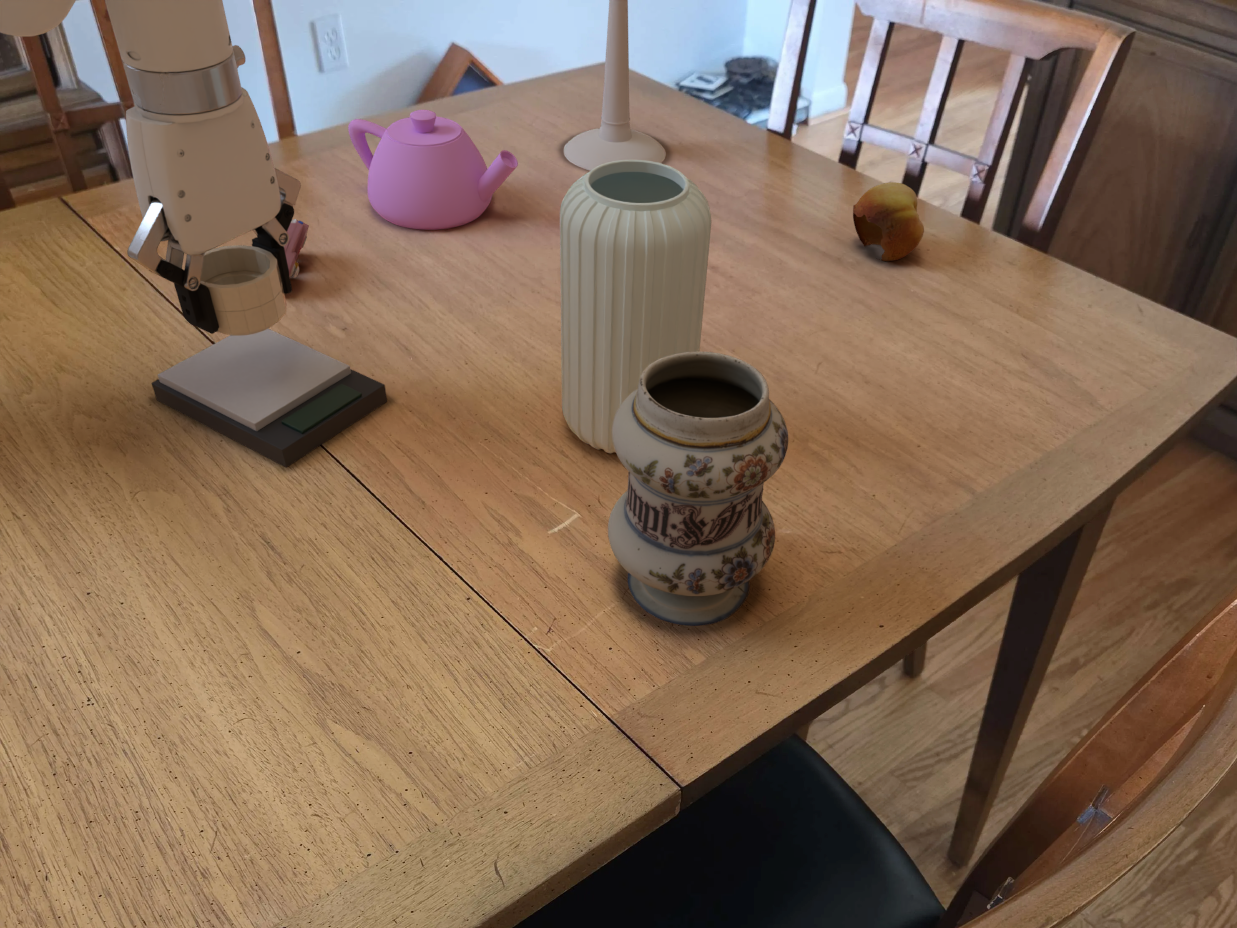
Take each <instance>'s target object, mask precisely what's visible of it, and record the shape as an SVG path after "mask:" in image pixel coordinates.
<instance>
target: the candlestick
mask: <svg viewBox="0 0 1237 928" xmlns="http://www.w3.org/2000/svg"><path fill="white" fill-rule="evenodd" d="M607 13H608V15H607V29H606V44H605V45H606V46H605V61H604V76H603V92H602V105H601V116H600V120H601V121H600V127H597V128H593V129H589V130H585V131H582V132H581V133H578V134H577V135H575V136H574V137H572V138H571V139H570V140H568V141H567V142H566V143H565V145H564V147H563V155H564V157H565V158H566V160H568V161H569V162H570V164H573V165H575V166H577V167H579V168H581V169H584V170H586V171H589V172H590V171H591V170H592V169H594V168H595V167H597V166H599V165H602V164H605V163H608V162H612V161H619V160H646V161H653V162H658V163H662V164H663V162H664V161H665V159H666V157H667V153H666V149H665V148H664V147H663V146H662V144H661V143H660V142H659V141H658V140H656V139H655V138H653V137H652V136H650V135H648V134H646V133H644V132H641V131H639V130H635V129H632V128H631V122H630V121H631V117H630V112H631V111H630V63H629V62H630V55H629V54H630V53H629V0H608V12H607Z"/></svg>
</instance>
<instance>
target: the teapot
mask: <svg viewBox="0 0 1237 928" xmlns="http://www.w3.org/2000/svg"><path fill="white" fill-rule="evenodd" d="M347 130H348V134H349V138H350V141H351V144H352V145H353V148H354V149H355V151H356V153H357V154H358V156H359V158H360V159H361V161H362V162H363V164H364V166H365V168H367V170H368V176H367V198H368V201H369V203H370V205H371V207H372V208H373V210H374V211H375V212H376V213H377V214H378V216H380V217H381V218H383V219H384V220H385V221H387V222H389V223H391V224H393V225H396V226H398V227H402V228H407V229H413V230H421V231H423V230H424V231H437V230H447V229H453V228H458V227H460V226H464V225H467V224H469V223H471V222H473V221H476V220H477V219H478V218H479V217H481V216H482V215H483V214H484V212H485V211H486V210H487V208H488V207H489V205H490V203H491V202H492V198H493V195H494V193H495V192H496V191H497V190H498V189H499V188H500V187H501V186H502V184H503V183H504V182H505V181H506V180H507V179H508V178H509V176H511V174H512V173H513V172H514V171H515V170H516V169H517V168H518V166H519V161H518V159H517V157H516V156H515V155H514V154H513V153H512V151H511V152H510V151H509V150H506V149H503V150H501V151H500V152H499V153H498V155H497V156H496V157H495V159H493V161H492V163H491V164H490V165H489V166H487V164H486V162H485V159H484V157H483V156H482V154H481V152H480V150H479V149H478V147H477V146H476V144H475V143H474V141H473V139H471V136H469V134H468V133H467V132H466V130H465V129H464V128H463V127H462V125H460V124H459V123H458V122H456V121H455V120H454V119H453V120H452V119H450V118H447V117H443V116H437V113H436V112H435V111H433V110H429V109H416V110H414V111H412V112H410V113H409V116H408V117H404V118H401V119H397V120H396V121H394V122H392V123H390V125H389V126H388V127H387V128H386V127H384V126H382V125H380V124H378V123H375V122H373V121H370V120H366V119H363V118H355V119H352V120H351V121H350V122H349V123H348V127H347ZM366 134H370V135H372V136H375V137H377V138H380V140H379V141H378V143H377V147H376V149H375V151H374V153H372V151H371V149H370V146H369V143H368V140H367V138H366Z"/></svg>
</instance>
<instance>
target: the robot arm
mask: <svg viewBox="0 0 1237 928" xmlns="http://www.w3.org/2000/svg"><path fill="white" fill-rule="evenodd" d="M76 1H77V0H0V34H3V35H8V36H13V37H18V38H19V37H20V38H21V37H35V36H39V35H43V34H46V33H48V32H50V31H52V30H53V29H55V28H57V27H59V25H60V24H61V23H63V21H64V20H65V19H66V18H67V16H68V15H69V13H70V12H71V10H72V8H73V6H74V5H75V3H76ZM223 1H224V0H104V2H105V6H106V10H107V14H108V16H109V21H110V23H111V24H110V25H111V27H112V31H113V34H114V38H115V41H116V45H117V48H118V52H119V55H120V58H121V63H122V66H123V69H124V73H125V77H126V80H127V83H128V87H129V91H130V94H131V97H132V101H133V105H134V106H133V107H130V108H128V109H126V111H125V127H126V140H127V148H128V149H127V150H128V156H129V163H130V168H131V173H132V179H133V184H134V188H135V194H136V197H137V202H138V206H139V210H140V213H141V217H142V220H141V223H140V224H139V226H138V228H137V230H136V232H135V234H134V235H133V238H132V240H131V241H130V243H129V245H128V248H127V250H126V253H127V256H128V257H129V259H131V260H132V261H135V263H137V264H139V265H140V266H142V267H144V268H145V269H147V270H148V271H149V272H151V273H153V274H154V275H156V276H159V277H161V278H163V279H164V280H166V281H168V282H171V283H173V285H174V289H175V293H176V296H177V299H178V302H179V307H180V310H181V312H182V316H183V317H184V319H185V320H186V322H187V323H188V324H189V325H191V326H193V327H196V328H198V329H201V330H202V331H204V332H206V333H209V334H211V335H214V334H215V333H218V332H217V331H218V329H219V325H218V321H217V317H216V313H215V310H214V306H213V302H212V299H211V295H210V291H209V289H208V287H207V286H205V285H203V284H201V283H200V281H201V274H202V268H203V262H204V255H205V252H207V251H209V250H211V249H214V248H219V247H221V246H222V245H224V244H226V243H229V242H230V241H232V240H235V239H237V238H239V237H242V235H245V234H247V233H249V232H253V233H254V234H255V235H256V236H255V237H254V238H251V242H252V243H251V246H254V247H259V248H262V249H264V250H267V251H269V252H271V253H272V254H273V256H274V257H275V258H276V259H277V262H278V267H279V272H280V276H281V281H282V285H283V290H284V295H287V294H290V293H292V292H293V287H292V282H291V277H289V269H288V264H287V259H286V254H285V250H284V246H285V245H286V244H287V243H288V241H289V235H288V233H287V231H288V228H289V226H290V223H291V221H292V220H293V218H294V216H295V208H294V207H295V206H296V203H297V201H298V197H299V195H300V191H301V188H302V184H301V181H300V180H299V179H297V178H296V177H293V176H291V174H290V175H289V174H287V173H286V172H284V171H283V170H280V169H278V168H276V167H275V164H274V161H273V157H272V154H271V150H270V147H269V143H268V140H267V137H266V134H265V131H264V128H263V125H262V122H261V120H260V117H259V115H258V112H257V109H256V107H255V105H254V103H253V100H252V98H251V96H250V94H249V92H248V90H247V89H246V88H244V87H243V86H242V84H241V80H240V75H239V70H238V68H239V67H240V66H243V65H244V64H246V55H245V53H244V49H242V48H241V46H240V45H237V44H234V45H233V42H232V37H231V33H230V29H229V25H228V20H227V15H226V11H225V5H224V2H223ZM166 241H167V246H166V254H165V259H164V258H163V257H162V256H160V255H159V253H158V248H159V246H160V244H161V243H162V242H166ZM185 255H186V257H185ZM184 258H185V264H184ZM183 264H184V269H183Z"/></svg>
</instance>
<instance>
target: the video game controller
mask: <svg viewBox="0 0 1237 928" xmlns="http://www.w3.org/2000/svg"><path fill="white" fill-rule="evenodd" d="M309 227H310V224H308V223H305V222H304V221H302V220H298V219H297V218H295V219H292V221H291V223H290V226H289V228H288V231H287V233H288V235H289V241H288V243H287V244H286V245H285V246H284V250H285V254H286V259H287V264H288V269H289V277H290V278H291V277H292V276H293V279H295V278H296V277H298V276H299V273H300V266H299V263H298V261H297V260H298V257H299V255H300V252H301V250H302V249H304V246H305V244H306V241H307V239H308V236H307V234H308V230H309Z"/></svg>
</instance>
